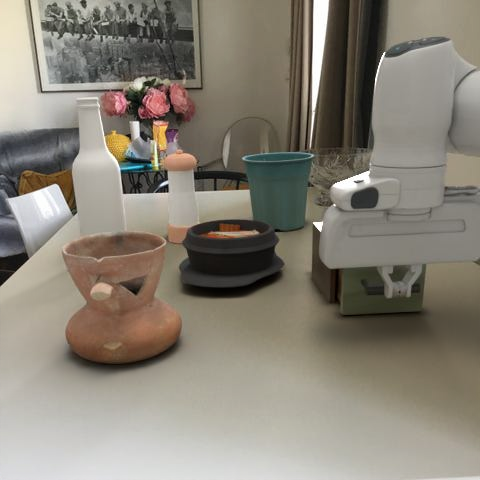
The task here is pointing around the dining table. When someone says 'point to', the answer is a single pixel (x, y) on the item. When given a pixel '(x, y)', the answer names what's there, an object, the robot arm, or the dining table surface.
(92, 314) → the ceramic jug
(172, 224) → the salt shaker
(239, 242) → the casserole
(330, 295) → the cabinet
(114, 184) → the alcohol
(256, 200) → the flower pot
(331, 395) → the dining table surface
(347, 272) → the drawer
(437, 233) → the robot arm
